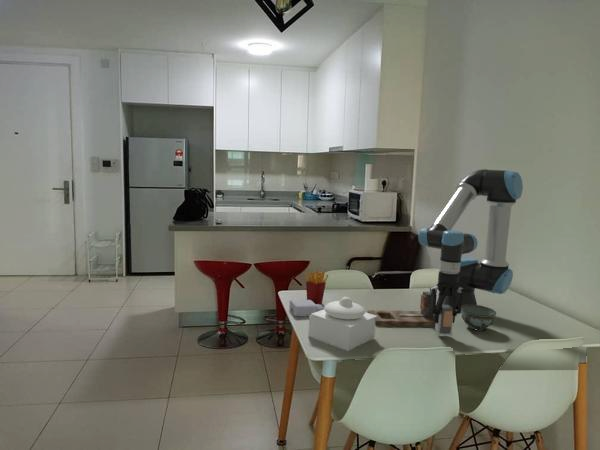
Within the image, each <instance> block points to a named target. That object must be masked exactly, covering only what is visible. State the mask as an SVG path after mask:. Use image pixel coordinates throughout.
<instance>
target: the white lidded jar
mask: <svg viewBox="0 0 600 450" xmlns="http://www.w3.org/2000/svg"><path fill="white" fill-rule="evenodd" d="M324 306H325V307H324V308H323V309H324V310H321V311H317V312H315V313H312V314H311V315H310V316H308V333H307V337H309V338H311V339H314V340H316V341H319V342H321V343H324V342H325V344H326V343H327V345H329V344H330V346H332V345H333V346H332V347H334V346H335V348H337V347H338V348H337V349H340V350H342V349H343V350H342V351H345V350H346V351H345V352H349V351H351V349H352V350H354V349H355V347H356V348H358V347H359V346H362V345H363V344H366V343H368V342H370V341H371V340H374V339H375V333H376V331H375V330H376V325H375V322H376V318H377V316H376V315H372V314H369V313H367V311H366V310H365V308H364V307H363V306H362V305H360V304H359V303H356V302H353V300H352V299H351V298H350V297H349V296H343V297H341V299H340V300H334V301H330V302H327V304H325V305H324ZM361 344H362V345H361ZM357 346H358V347H357ZM353 348H354V349H353Z"/></svg>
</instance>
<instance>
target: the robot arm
mask: <svg viewBox="0 0 600 450" xmlns="http://www.w3.org/2000/svg"><path fill="white" fill-rule="evenodd" d="M523 185H524V184H523V179H522V177H521V174H520V173H519V172H517V171H513V170H507V169H506V170H502V169H501V170H500V169H498V170H497V169H487V168H485V169H484V168H483V169H478V170H475V171H473V172H471V173H469V174H468V175H466V176H465V177H464V178H462V179H461V180H460V181H459V182H458V184H456V186H455V192H454V193H453V195H452V196H451V198H450V199H449V201H448V202H446V203H447V204H445V206H444V207H443V209H442V210H441V212H440V213H439V215H438V216H437V218H436V219H435V220H434V222H433V223H432V225H431V226H430V227H423V228H422V229H420V231H419V233H418V239H417V240H418V243H419V244H420V245H421V246H424V247H427V248H430V249H431V248H433V249H438V250H440V257H439V268H438V269H439V271H438V274H437V275H438V276H437V284H436V286H433V287H432V286H430V287H429V292H431V300H430V311H431V312H432V313H433V314H434V322H435V323H436V325H435V326H434V330H435V331H436V332H437V333H439V332H440V325H441V315H440V312H441V308H442V305H449V306H451V307H452V308H453V313H452V322H451V332H450V333H452V330H453V329H452V328H453V324H454V323H455V321H456V317H457V315H460V314H461V306H463V305H467V304H471V305H478V303H477V300H476V299H477V297H476V295H475V291H476V290H481V291H484V292H488V293H489V292H490V293H492V294H498V295H503V294H505V293H507V291H508V289H509V288H510V286H511V284H512V281H513V276H514V273H513V270H512V269H511V268H509V267H510V266H509V265H510V264H509V262H508V261H507V259H506V258H507V249H508V241H509V232H510V231H509V230H510V222H511V221H510V220H511V212H512V207H513V205H515V204H516V203H517V200H519V199H520V198H521V197H522V194H523V188H524V186H523ZM479 196H483V197H486V202H487V203H488V204H489V209H488V210H489V211H488V221H487V232H486V242H485V250H484V251H485V252H484V258H482V259H481V260H480V263H479V259H478V258H473V257H462V255H465V254H470V253H472V252H474V251H475V250H476V249H477V247H478V240H477V238H476V236H475V235H473V234H472V233H466V232H465V233H463V231H459V230H452V229H453V228H454V227H455V225H456V223H457V222H458V221H459V219H460V218H461V216H462V215H463V213H464V211H466V209H467V207H468V206H469V204H470V202H472V201H475V199H476V198H477V197H479ZM475 289H476V290H475ZM437 293H438V294H437ZM437 295H438V297H437Z"/></svg>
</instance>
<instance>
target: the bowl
mask: <svg viewBox="0 0 600 450" xmlns="http://www.w3.org/2000/svg"><path fill="white" fill-rule="evenodd" d="M460 314H461V318H462V320H463V322H464V323H465V324H466V325H467V327H468V328H469V329H470V328H472V329H477V330H482V331H484V330H485V329H486V328H488V327H490V326H491V325H492V324H493V322H494V320H495V317H496V315H497V312H496V311H495V310H494V309H493V308H491V307H487V306H483V305H481V304H480V305H479V304H477V305H471V304H467V305H463V306H461V313H460ZM472 329H471V330H472ZM483 329H484V330H483ZM477 330H476V331H477Z"/></svg>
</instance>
